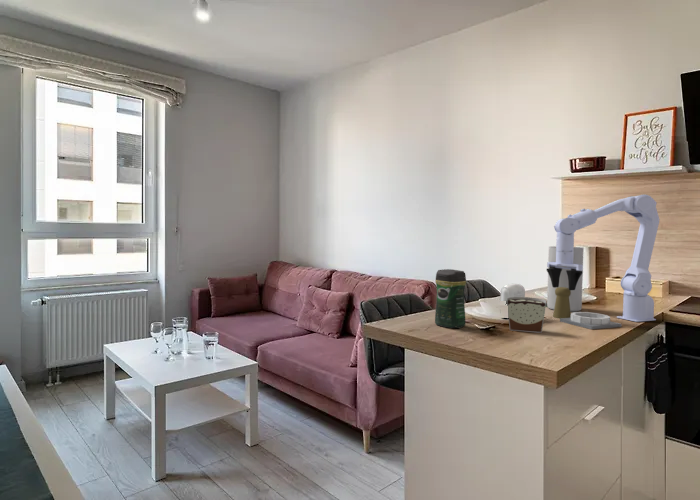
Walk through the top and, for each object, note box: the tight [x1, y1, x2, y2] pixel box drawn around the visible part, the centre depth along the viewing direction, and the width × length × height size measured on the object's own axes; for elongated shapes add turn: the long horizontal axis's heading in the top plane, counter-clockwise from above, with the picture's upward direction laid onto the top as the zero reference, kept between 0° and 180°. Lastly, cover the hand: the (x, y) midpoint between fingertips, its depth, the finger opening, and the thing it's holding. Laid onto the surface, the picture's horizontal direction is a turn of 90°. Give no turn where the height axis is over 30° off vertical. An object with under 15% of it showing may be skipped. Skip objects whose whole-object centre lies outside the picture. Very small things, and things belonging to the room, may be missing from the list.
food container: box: [505, 296, 549, 334], centre depth 140 cm, size 12×6×10 cm, turn 71°
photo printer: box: [499, 283, 526, 302], centre depth 159 cm, size 10×4×12 cm, turn 123°
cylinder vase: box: [546, 246, 585, 313], centre depth 177 cm, size 12×12×25 cm
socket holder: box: [559, 311, 623, 330], centre depth 149 cm, size 13×13×3 cm
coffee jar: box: [434, 268, 467, 329], centre depth 145 cm, size 10×8×19 cm
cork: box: [552, 287, 572, 320], centre depth 160 cm, size 6×6×11 cm
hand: (563, 288), depth 160 cm, fingers open, 7 cm apart
